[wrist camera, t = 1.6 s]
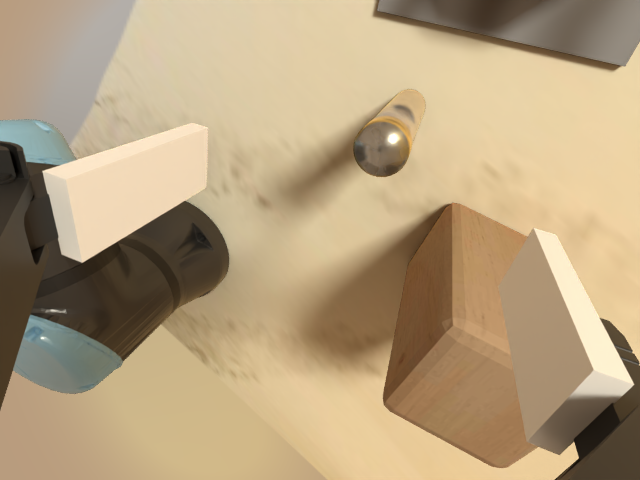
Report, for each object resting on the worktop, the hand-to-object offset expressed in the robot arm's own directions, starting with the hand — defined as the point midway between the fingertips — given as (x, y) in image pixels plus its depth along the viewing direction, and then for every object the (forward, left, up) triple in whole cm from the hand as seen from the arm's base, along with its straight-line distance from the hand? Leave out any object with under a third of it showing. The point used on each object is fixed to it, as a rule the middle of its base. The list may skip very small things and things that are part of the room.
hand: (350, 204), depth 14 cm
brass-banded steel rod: (0, 0, -24) cm, 24 cm away
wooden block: (+11, -13, -24) cm, 30 cm away
